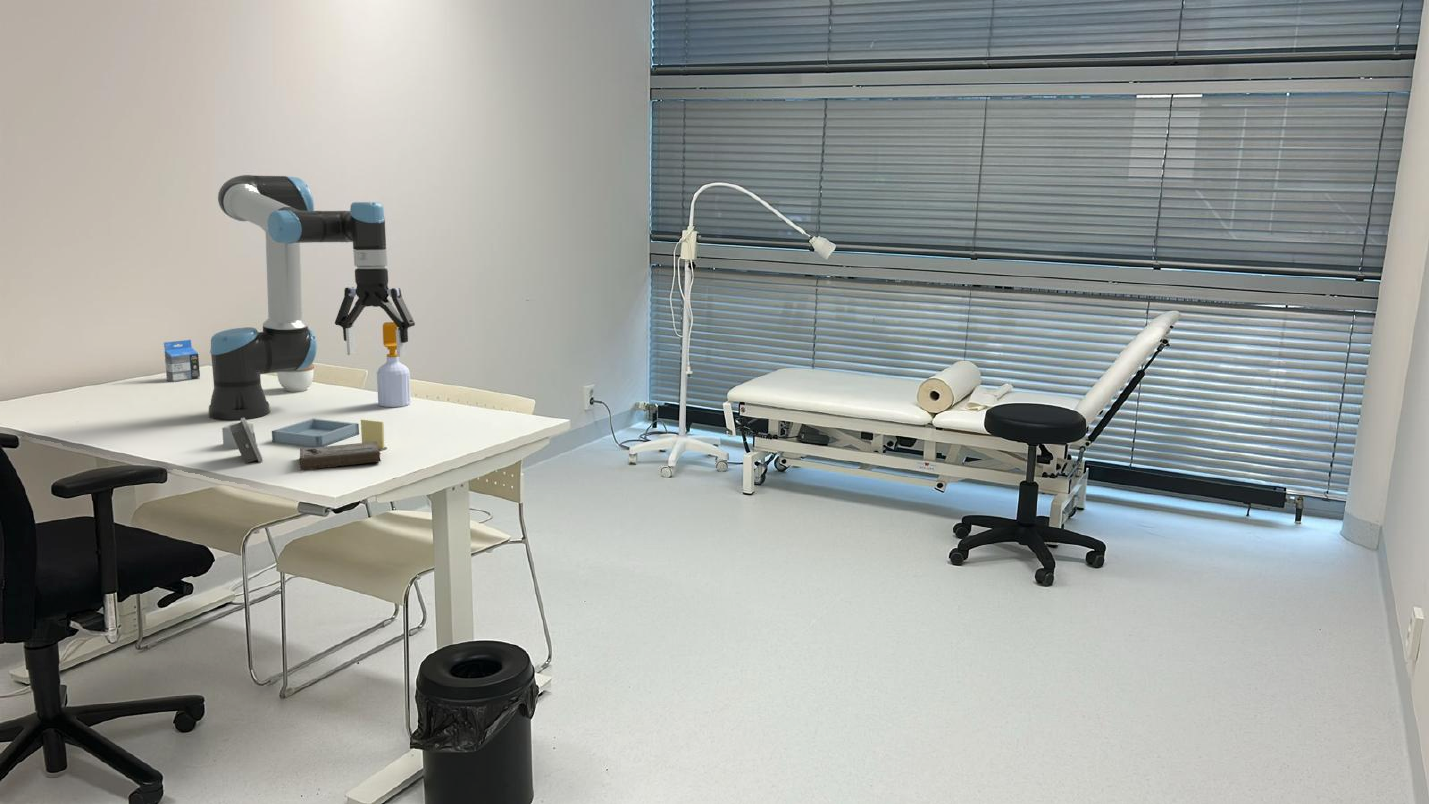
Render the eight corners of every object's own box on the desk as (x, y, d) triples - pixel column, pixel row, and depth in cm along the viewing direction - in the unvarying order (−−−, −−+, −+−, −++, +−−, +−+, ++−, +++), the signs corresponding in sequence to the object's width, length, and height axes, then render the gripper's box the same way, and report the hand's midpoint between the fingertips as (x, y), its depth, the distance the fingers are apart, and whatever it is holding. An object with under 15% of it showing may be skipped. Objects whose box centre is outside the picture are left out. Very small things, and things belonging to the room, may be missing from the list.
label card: (359, 448, 236) (358, 420, 234) (365, 446, 238) (364, 418, 236) (380, 451, 234) (379, 423, 232) (386, 448, 236) (385, 420, 235)
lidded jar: (270, 389, 299) (268, 360, 297) (302, 385, 307) (300, 356, 305) (290, 394, 293) (288, 364, 291) (322, 389, 301) (320, 360, 299)
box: (381, 464, 222) (380, 450, 222) (300, 471, 216) (298, 458, 216) (378, 453, 232) (377, 440, 232) (300, 460, 226) (299, 447, 225)
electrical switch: (263, 463, 221) (256, 424, 219) (238, 467, 219) (231, 428, 217) (259, 453, 229) (252, 415, 227) (235, 457, 227) (227, 419, 224)
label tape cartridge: (173, 382, 305) (169, 343, 303) (166, 380, 307) (162, 342, 305) (200, 378, 313) (197, 340, 310) (194, 376, 315) (190, 339, 312)
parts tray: (272, 442, 239) (271, 431, 238) (313, 428, 253) (313, 418, 253) (319, 447, 235) (319, 436, 235) (359, 434, 249) (358, 423, 249)
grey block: (223, 447, 233) (222, 427, 232) (234, 442, 238) (233, 422, 237) (244, 448, 233) (242, 428, 232) (254, 443, 238) (253, 423, 237)
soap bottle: (381, 408, 278) (377, 324, 273) (376, 402, 286) (372, 319, 281) (413, 406, 282) (410, 323, 277) (407, 400, 290) (404, 319, 285)
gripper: (315, 267, 231) (322, 355, 235) (409, 268, 225) (414, 358, 229) (334, 266, 238) (340, 351, 242) (426, 267, 232) (430, 354, 236)
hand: (376, 355), depth 236 cm, fingers open, 13 cm apart
